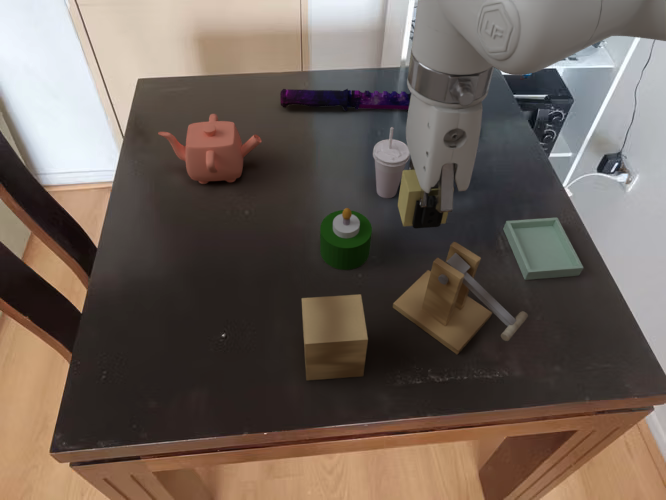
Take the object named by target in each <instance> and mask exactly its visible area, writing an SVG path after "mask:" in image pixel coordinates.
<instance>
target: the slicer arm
mask: <svg viewBox="0 0 666 500" xmlns="http://www.w3.org/2000/svg"><path fill="white" fill-rule="evenodd" d="M445 263H447V264H449V265H450V266H452V267H453V268H455V269H456V270H458V271H459V272H461V273H462V274H464V275H465V276H464V279H463V282H462V283H463V284H464V285H465V286H466V287H467V288H468V289H470V292H471V293H472V294H473V295H474V296H475V297H476V298H478V300H479V301H481V303H483V305H485V307H487V309H488V310H489V311H491V312H492V314H494V315H495V316H496V317H497V318H498V319H499V320H500V321H501V322H502V323H503V324H504V325H505V326H506V328H505V329H504V330H503V332H502V333H501V334H500V337H501V339H502V340H503V341H504V342H508V341H510V339H512V337H513V336H514V335H515V334H516V332H517V331H518V330H519V329H520V328H521V326H522V325H523V324H524V323H525V321H526V320H527V319H528V317H529V315H528V313H527V312H525V311H523V310H520V311H519V312H518V313H517V315H516V316H515V317H514V316H513V315H512V314H511V313H510V312H509V311H508V310H507V309H505V308H504V306H502V304H500V303H499V302H498V301H497V300H496V299H495V297H493V296H492V295H491V294H490V293H489V291H487V290H486V289H485V288H484V287H483V286H482V285H481V284H480V283H479V282H478V281H477V280H476V279H475V278H474V279H473V278H472V277H471V276H470V275H469V274H468V273H467V272H466V271H467V270H468V269H469V268H470V266H469V265H468V264H467V263H466V262H465V261H464V260H463V259H462V258H461V257H460V256H459V255H458V254H457V253H455V254H454V255H453V256H452V257H451V258H450V259H449V260H448V261H447V262H446V261H445Z"/></svg>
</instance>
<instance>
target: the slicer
mask: <svg viewBox="0 0 666 500" xmlns="http://www.w3.org/2000/svg"><path fill="white" fill-rule="evenodd" d="M455 253H457V254H458V255H459V256H460V257H461V258H462V259H463V260H464V261H465V262H466V263H467V264H468V265H469V266H470V268H469V269H468V270H467V271H466V272H467V273H468V274H469V275H470V276H471V277H472V278H473V279H474V280H475V276H476V274H477V271H478V268H479V266H480V262H481V260H482V258H481V256H479V255H477V254H475V253H474V252H473V251H471V250H469V249H468V248H466V247H465V246H463V245H461V244H459V243H458V242H457V241H453V242H452V243H451V244H450V245H449V250H448V252H447V257H446V259H445V261H444V260H443V259H441V258H439V257H436V258H435V259H434V260H433V262H432V266H431V270H429V269H427V270H426V271H425V272H424V273H423V274H422V275H421V276H420V277H419V278H418V279H417V280H416V281H415V282H414V283H413V284H411V286H410V287H408V288H407V289H406V290H405V292H403V293H402V294H401V295H400V296H399V297H398V298H397V299H396V300H395V301H394V302H393V303H392V308H393V309H394V310H395V311H397V312H398V313H399V314H401V315H402V316H403V317H405V318H406V319H408V320H409V321H410V322H412V324H414V325H416V326H417V327H418V328H420V329H421V330H422V331H424V332H425V333H426V334H428V335H429V336H430V337H432V338H434V339H435V340H436V341H437V342H439V343H440V344H442V345H443V346H444V347H446V348H447V349H449V351H451V352H452V353H454V354H455V355H459V354H460V353H461V352H462V351H463V349H464V348H465V347H466V346H467V344H469V342H470V341H471V340H472V339H473V338H474V337H475V336H476V334H477V333H478V332H479V331H480V329H482V327H484V325H485V324H486V323H487V322H488V321H489V320H490V318H492V315H493V312H492V311H491V310H490V309H489V308H486V306H483V305H482V304H480V303H479V302H478V301H475V300H474V299H473V298H472V297H470V296H469V293H470V292H471V290H470V289H468V288H467V287H466V286H465V285H464V284H463V283H462V282H463V279H464V276H465V275H464V274H462V273H461V272H459V271H458V270H456V269H455V268H453V267H452V266H450V265H449V264H447V263H446V262H447V261H448V260H449V259H450V258H451V257H452V256H453V255H454V254H455Z"/></svg>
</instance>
